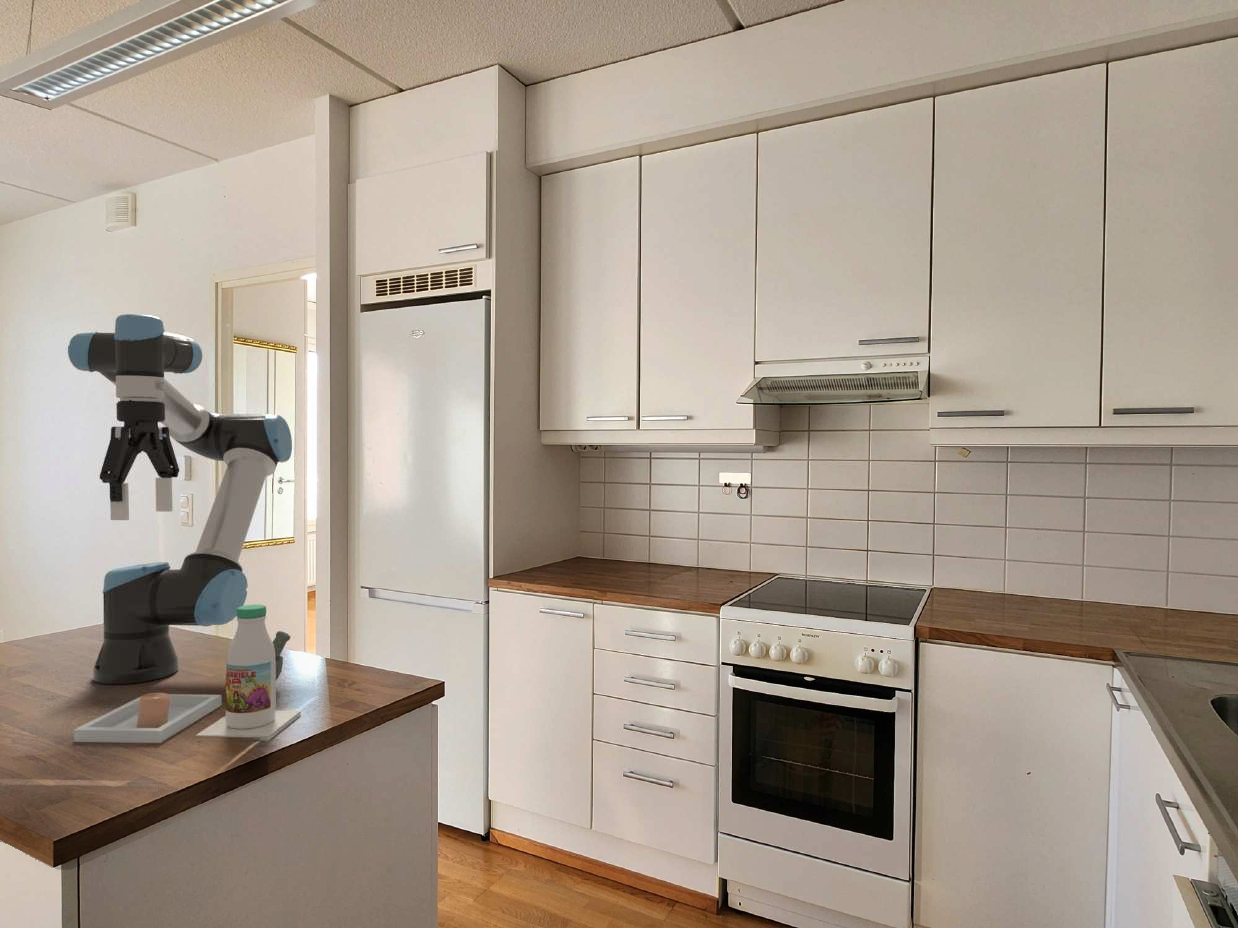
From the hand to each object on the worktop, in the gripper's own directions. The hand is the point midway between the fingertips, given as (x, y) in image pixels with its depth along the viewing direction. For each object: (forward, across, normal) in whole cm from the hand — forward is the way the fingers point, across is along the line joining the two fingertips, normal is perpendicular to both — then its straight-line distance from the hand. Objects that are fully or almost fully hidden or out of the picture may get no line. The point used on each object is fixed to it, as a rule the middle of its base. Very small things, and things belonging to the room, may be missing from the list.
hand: (143, 515), depth 139 cm
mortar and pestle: (+36, +5, -18) cm, 41 cm away
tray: (+35, -11, -8) cm, 38 cm away
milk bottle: (+34, -12, -25) cm, 44 cm away
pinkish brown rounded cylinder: (+34, -14, -9) cm, 38 cm away
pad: (+35, -12, -25) cm, 44 cm away
